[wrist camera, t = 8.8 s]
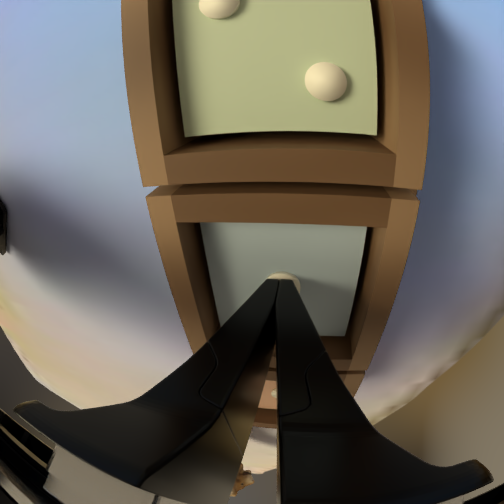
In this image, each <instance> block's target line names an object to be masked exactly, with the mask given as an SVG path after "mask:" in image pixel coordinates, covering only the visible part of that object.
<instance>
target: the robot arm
mask: <svg viewBox="0 0 504 504" xmlns="http://www.w3.org/2000/svg"><path fill="white" fill-rule="evenodd" d="M6 218H7V211H6V208H5V207H4V205H3V204H2V203H1V201H0V253H1V254H2V255H4V254H5V253H6ZM275 341H276V392H277V504H504V483H503V484H501V485H499V486H497V487H495V488H493V489H491V490H489V491H487V492H485V493H483V494H480V495H478V496H476V497H474V498H471V499H469V500H467V501H464V498H463V495H464V494H467V493H469V492H472V491H474V490H476V489H478V488H481V487H483V486H485V485H487V484H489V483H491V482H493V480H494V479H493V476H492V474H491V473H490V471H489V470H488V469H487V468H486V467H485V466H484V465H483V464H481V463H480V462H479V461H478V460H469V461H466V462H463V463H460V464H456V465H453V466H449V467H439V466H435V465H431V464H429V463H426V462H424V461H423V460H421V459H420V458H418V457H416V456H415V455H413V454H411V453H410V452H408V451H406V450H405V449H403V448H402V447H400V446H398V445H397V444H395V443H393V442H392V441H390V440H389V439H387V438H386V437H384V436H383V435H382V434H380V433H379V432H378V431H377V430H376V429H375V428H374V427H373V426H372V424H371V423H370V422H369V420H368V419H367V418H366V416H365V415H364V413H363V412H362V410H361V409H360V407H359V406H358V404H357V402H356V401H355V399H354V398H353V396H352V395H351V393H350V392H349V390H348V389H347V387H346V386H345V384H344V382H343V381H342V379H341V378H340V376H339V374H338V372H337V370H336V369H335V367H334V365H333V363H332V361H331V359H330V357H329V354H328V352H327V351H326V348H325V346H324V344H323V342H322V340H321V338H320V336H319V334H318V331H317V329H316V327H315V325H314V323H313V321H312V319H311V317H310V315H309V313H308V311H307V309H306V306H305V304H304V302H303V300H302V298H301V296H300V294H299V292H298V290H297V288H296V286H295V284H294V282H293V280H291V279H281V280H280V281H279V279H266V280H265V281H264V282H263V283H262V284H261V285H260V286H259V287H258V289H257V290H256V291H255V292H254V293H253V294H252V295H251V296H250V297H249V298H248V299H247V300H246V301H245V302H244V303H243V304H242V305H241V307H240V308H239V309H238V310H237V311H236V312H235V313H234V314H233V315H232V316H231V317H230V318H229V319H228V320H227V321H226V322H225V323H224V324H223V325H222V326H221V327H220V328H219V329H218V330H217V332H216V333H215V334H214V335H213V336H212V337H211V338H210V339H209V340H208V342H206V343H205V344H204V345H203V346H202V347H201V348H200V349H199V350H198V351H197V352H196V353H195V354H193V355H192V356H191V357H190V358H189V359H188V360H187V361H186V362H185V363H183V364H182V365H181V366H180V367H179V368H177V369H176V370H175V371H174V372H172V373H171V374H170V375H169V376H167V377H166V378H165V379H163V380H162V381H161V382H159V383H158V384H157V385H155V386H154V387H153V388H152V389H150V390H149V391H148V392H146V393H145V394H143V395H142V396H140V397H138V398H136V399H134V400H132V401H129V402H126V403H121V404H115V405H109V406H103V407H96V408H89V409H82V410H74V411H59V410H55V409H51V408H49V407H47V406H46V405H44V404H43V403H41V402H40V401H38V400H32V401H27V402H24V403H21V404H19V405H17V406H16V407H15V408H13V411H14V412H15V413H16V414H17V415H18V416H19V417H21V418H22V419H23V420H24V421H25V422H27V423H28V424H29V425H31V426H32V427H33V428H34V429H36V430H37V431H38V432H40V433H41V434H42V435H44V436H45V437H47V438H48V439H49V440H51V441H52V442H54V443H55V444H56V446H55V448H54V450H53V449H52V448H50V447H49V446H48V445H46V444H45V443H43V442H42V441H41V440H40V439H38V438H37V437H36V436H34V435H33V434H31V433H30V432H29V431H28V430H26V429H25V428H24V427H22V426H21V425H20V424H19V423H17V422H16V421H15V420H14V419H12V418H11V417H10V416H9V415H7V414H6V413H5V412H4V411H3V410H1V409H0V504H227V503H228V500H229V497H230V495H231V492H232V489H233V486H234V483H235V480H236V477H237V474H238V471H239V468H240V465H241V462H242V459H243V457H242V456H243V455H244V452H245V449H246V446H247V443H248V439H249V436H250V433H251V429H252V426H253V423H254V419H255V416H256V413H257V409H258V406H259V402H260V399H261V395H262V391H263V388H264V384H265V381H266V377H267V373H268V369H269V366H270V362H271V358H272V354H273V350H274V346H275Z"/></svg>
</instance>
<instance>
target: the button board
mask: <svg viewBox="0 0 504 504" xmlns="http://www.w3.org/2000/svg"><path fill="white" fill-rule="evenodd" d="M370 4H371V11H372V18H373V27H374V37H375V49H376V66H377V135H367V134H355V133H341V132H320V131H259V132H238V133H223V134H211V135H200V136H191V137H185V134H184V127H183V119H182V111H181V102H180V93H179V84H178V74H177V63H176V52H175V39H174V24H173V7H172V0H121V20H122V42H123V57H124V69H125V79H126V88H127V96H128V104H129V111H130V118H131V124H132V131H133V137H134V143H135V148H136V154H137V159H138V164H139V169H140V174H141V179H142V183H143V187H148V186H159V187H157V188H156V189H155V190H154V191H152V192H151V193H150V194H149V195H147V196H146V201H147V205H148V210H149V214H150V218H151V222H152V226H153V230H154V233H155V237H156V241H157V245H158V248H159V252H160V255H161V259H162V262H163V266H164V269H165V272H166V276H167V279H168V282H169V285H170V289H171V292H172V295H173V298H174V301H175V304H176V307H177V310H178V313H179V316H180V319H181V322H182V324H183V327H184V330H185V333H186V336H187V338H188V341H189V344H190V346H191V349H192V352H193V354H195V353H196V352H197V351H198V350H199V349H200V348H201V347H202V346H203V345H204V344H205V343H206V342H208V340H209V339H210V338H211V337H212V336H213V335H214V334H215V333H216V332H217V330H218V329H219V328H220V327H221V326H220V322H219V317H218V312H217V308H216V303H215V298H214V294H213V289H212V284H211V279H210V274H209V269H208V264H207V259H206V253H205V248H204V243H203V237H202V232H201V226H200V222H226V223H283V224H315V225H341V226H363V227H367V230H366V237H365V243H364V249H363V255H362V261H361V266H360V272H359V277H358V282H357V287H356V291H355V296H354V301H353V305H352V309H351V314H350V318H349V322H348V326H347V330H346V334H345V336H320V338H321V340H322V342H323V344H324V346H325V348H326V351H327V352H328V354H329V357H330V359H331V361H332V363H333V365H334V367H335V369H336V370H337V372H338V374H339V376H340V378H341V379H342V381H343V382H344V384H345V386H346V387H347V389H348V390H349V392H350V393H351V395H352V396H353V398H354V396H355V394H356V392H357V390H358V388H359V386H360V384H361V382H362V380H363V378H364V375H365V370H367V369H368V367H369V364H370V362H371V360H372V358H373V355H374V353H375V351H376V348H377V346H378V343H379V341H380V338H381V336H382V333H383V331H384V328H385V326H386V323H387V320H388V317H389V315H390V312H391V309H392V306H393V303H394V300H395V297H396V294H397V291H398V288H399V285H400V281H401V278H402V275H403V271H404V268H405V264H406V261H407V257H408V253H409V249H410V245H411V241H412V237H413V232H414V228H415V223H416V219H417V214H418V209H419V203H420V201H419V200H418V199H417V197H416V194H417V190H422V185H423V179H424V172H425V164H426V155H427V145H428V132H429V113H430V70H429V53H428V41H427V32H426V24H425V17H424V10H423V5H422V0H370ZM266 380H270V381H276V341H275V346H274V350H273V354H272V358H271V362H270V366H269V369H268V373H267V377H266ZM253 426H256V427H265V428H275V429H277V409H267V408H258V409H257V413H256V416H255V419H254V423H253Z"/></svg>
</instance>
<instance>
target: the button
mask: <svg viewBox="0 0 504 504" xmlns="http://www.w3.org/2000/svg"><path fill="white" fill-rule="evenodd" d="M200 226H201V232H202V237H203V243H204V248H205V253H206V259H207V264H208V269H209V274H210V279H211V284H212V289H213V294H214V298H215V303H216V308H217V312H218V317H219V322H220V326H222V325H223V324H224V323H225V322H226V321H227V320H228V319H229V318H230V317H231V316H232V315H233V314H234V313H235V312H236V311H237V310H238V309H239V308H240V307H241V305H242V304H243V303H244V302H245V301H246V300H247V299H248V298H249V297H250V296H251V295H252V294H253V293H254V292H255V291H256V290H257V289H258V287H259V286H260V285H261V284H262V283H263V282H264V281H265V280H266V279H279V281H280V280H281V279H291V280H293V282H294V284H295V286H296V288H297V290H298V292H299V294H300V296H301V298H302V300H303V302H304V304H305V306H306V309H307V311H308V313H309V315H310V317H311V319H312V321H313V323H314V325H315V327H316V329H317V331H318V334H319V336H345V334H346V330H347V326H348V322H349V318H350V314H351V309H352V305H353V301H354V296H355V291H356V287H357V282H358V277H359V272H360V266H361V261H362V255H363V249H364V243H365V237H366V230H367V227H363V226H341V225H315V224H283V223H226V222H200Z"/></svg>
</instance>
